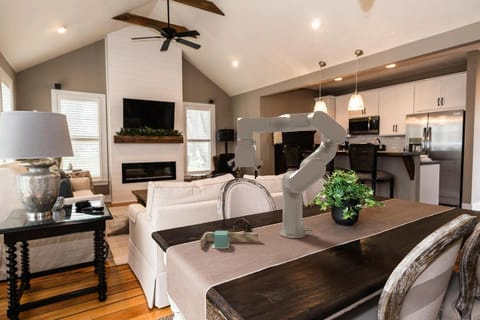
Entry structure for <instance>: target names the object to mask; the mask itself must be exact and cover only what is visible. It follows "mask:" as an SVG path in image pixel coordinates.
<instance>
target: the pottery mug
mask: <svg viewBox="0 0 480 320" xmlns="http://www.w3.org/2000/svg"><path fill="white" fill-rule="evenodd" d="M232 224H233V225H232V232H240V231H244V229H247V231H250V233H254V231H253V226H252V224H251V222H249V221H248V220H247V219H246V218H245V217H241V218H240V217H239V218H238V219H236V220H235V221H234V222H233V223H232ZM237 224H239V225H237ZM236 225H237V226H236Z"/></svg>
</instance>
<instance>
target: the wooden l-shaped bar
mask: <svg viewBox="0 0 480 320" xmlns="http://www.w3.org/2000/svg"><path fill="white" fill-rule="evenodd" d="M215 232H216V231H205V232H204V233H203V235H202V236H201V238H200V249H203V250H204V249H205V247H206V245H207V243H208V242H214V234H215ZM228 242H230V243H231V242H232V243H233V242H234V243H235V242H236V243H240V242H241V243H259V232H253V233H251V232H244V231H243V232H242V231H241V232H240V231H237V232H236V231H235V232H234V231H232V232H231V231H228Z"/></svg>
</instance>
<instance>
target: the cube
mask: <svg viewBox="0 0 480 320" xmlns="http://www.w3.org/2000/svg"><path fill="white" fill-rule="evenodd" d="M214 232H215V234H214V241H213V245H214V247H227V245H228V232H229V230H215V231H214Z"/></svg>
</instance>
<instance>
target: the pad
mask: <svg viewBox="0 0 480 320" xmlns="http://www.w3.org/2000/svg"><path fill="white" fill-rule="evenodd" d="M230 244H231V242H228V245H227V247H214V244H213V245H212V247H211V248H212V249H226V248H228V249H229V247H230Z"/></svg>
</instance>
